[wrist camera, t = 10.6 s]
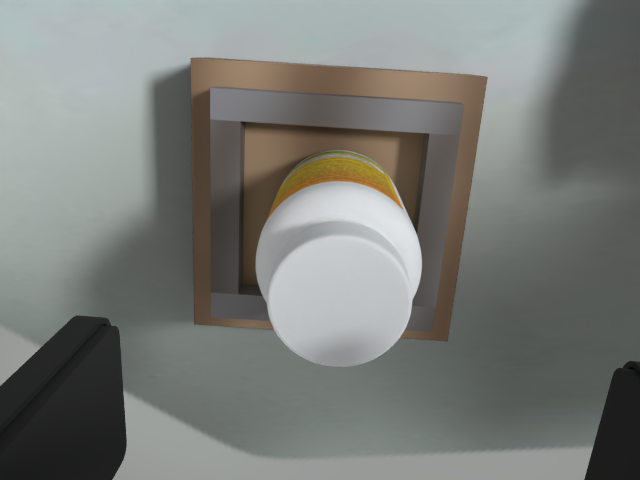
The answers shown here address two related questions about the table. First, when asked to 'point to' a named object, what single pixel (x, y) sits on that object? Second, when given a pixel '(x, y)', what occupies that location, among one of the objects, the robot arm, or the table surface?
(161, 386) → the table surface
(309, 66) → the stand
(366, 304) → the supplement bottle
